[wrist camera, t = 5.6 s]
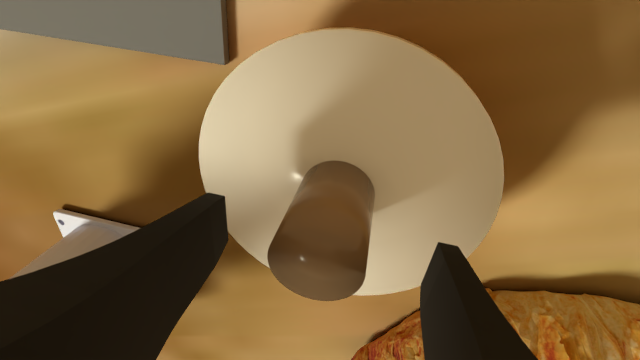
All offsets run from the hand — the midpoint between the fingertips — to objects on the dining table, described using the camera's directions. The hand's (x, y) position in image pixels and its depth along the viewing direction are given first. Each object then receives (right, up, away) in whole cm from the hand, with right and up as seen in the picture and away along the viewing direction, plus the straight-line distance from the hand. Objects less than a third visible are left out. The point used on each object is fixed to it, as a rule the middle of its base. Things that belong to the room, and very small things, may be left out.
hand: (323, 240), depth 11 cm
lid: (+1, +2, +3) cm, 3 cm away
